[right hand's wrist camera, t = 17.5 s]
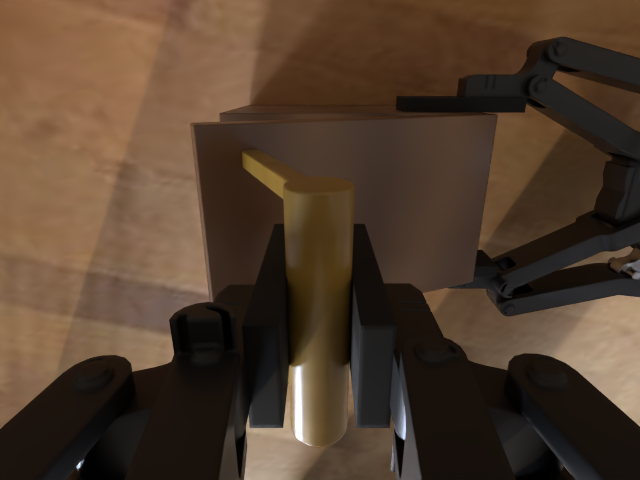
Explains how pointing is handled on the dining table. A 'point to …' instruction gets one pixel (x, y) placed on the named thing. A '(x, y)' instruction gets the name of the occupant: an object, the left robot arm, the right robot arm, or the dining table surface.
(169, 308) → the dining table surface
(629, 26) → the dining table surface
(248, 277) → the lid
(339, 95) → the dining table surface
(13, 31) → the dining table surface
